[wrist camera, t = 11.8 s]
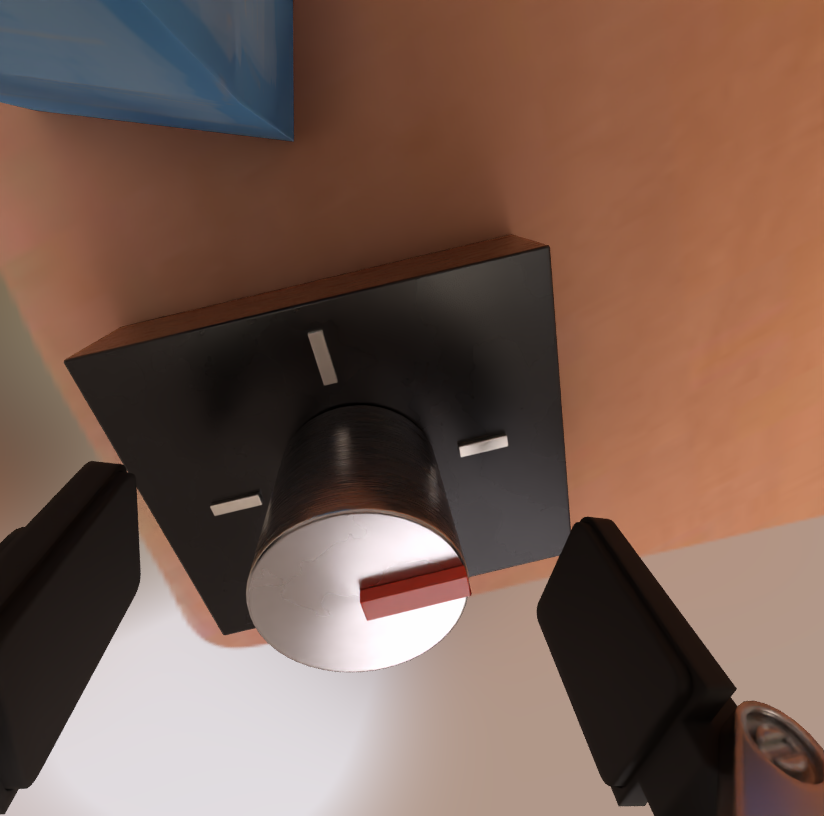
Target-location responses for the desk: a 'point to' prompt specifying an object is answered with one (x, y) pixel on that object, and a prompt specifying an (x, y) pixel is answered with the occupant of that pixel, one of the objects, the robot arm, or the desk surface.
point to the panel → (345, 402)
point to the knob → (357, 546)
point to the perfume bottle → (153, 62)
